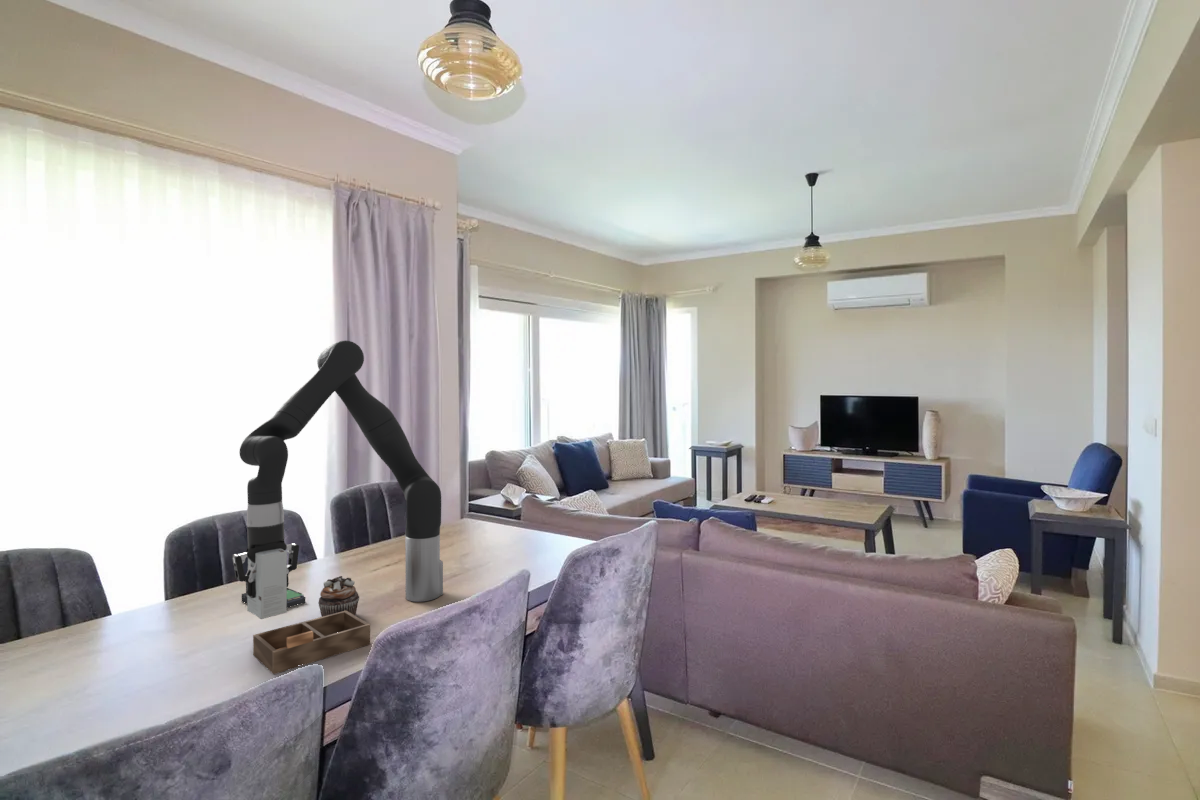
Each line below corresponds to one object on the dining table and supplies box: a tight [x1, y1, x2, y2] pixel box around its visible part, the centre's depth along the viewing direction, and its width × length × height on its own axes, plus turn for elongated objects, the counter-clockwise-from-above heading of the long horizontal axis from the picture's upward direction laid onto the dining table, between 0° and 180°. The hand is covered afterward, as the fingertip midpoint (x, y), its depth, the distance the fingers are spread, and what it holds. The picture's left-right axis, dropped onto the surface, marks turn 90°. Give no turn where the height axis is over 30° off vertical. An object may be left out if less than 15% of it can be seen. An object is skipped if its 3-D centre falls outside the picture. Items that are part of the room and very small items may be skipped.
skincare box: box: [246, 548, 288, 620], centre depth 142 cm, size 8×6×15 cm
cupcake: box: [318, 575, 360, 617], centre depth 155 cm, size 10×10×10 cm
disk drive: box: [241, 587, 306, 608], centre depth 166 cm, size 10×3×15 cm
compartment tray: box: [252, 611, 371, 675], centre depth 136 cm, size 20×13×6 cm, turn 136°
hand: (267, 593), depth 142 cm, fingers closed on skincare box, 6 cm apart
